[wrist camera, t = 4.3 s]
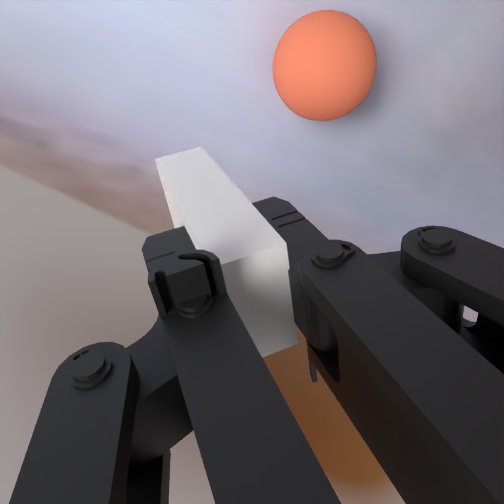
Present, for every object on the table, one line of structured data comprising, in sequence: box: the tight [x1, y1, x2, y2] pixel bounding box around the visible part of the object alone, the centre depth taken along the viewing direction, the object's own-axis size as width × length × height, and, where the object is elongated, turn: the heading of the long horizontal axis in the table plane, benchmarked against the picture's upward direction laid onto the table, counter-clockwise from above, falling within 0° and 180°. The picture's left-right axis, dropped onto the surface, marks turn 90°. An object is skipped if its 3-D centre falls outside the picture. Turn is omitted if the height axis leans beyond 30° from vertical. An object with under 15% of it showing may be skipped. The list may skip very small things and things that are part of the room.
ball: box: [273, 10, 376, 121], centre depth 24 cm, size 6×6×6 cm
